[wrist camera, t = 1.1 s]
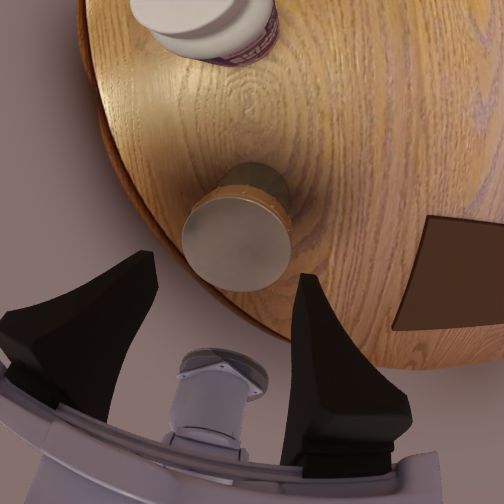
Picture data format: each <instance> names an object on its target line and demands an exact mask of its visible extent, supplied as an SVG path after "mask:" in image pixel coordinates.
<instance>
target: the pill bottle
mask: <svg viewBox="0 0 504 504" xmlns="http://www.w3.org/2000/svg"><path fill="white" fill-rule="evenodd" d="M130 6H131V10H132V13H133V15H134V17H135V18H136V19H137V20H138V22H139V23H141V24H142V25H143V26H144V27H146V28H148V29H150V31H151V33H152V35H153V37H154V38H155V39H156V41H157V42H158V43H159V44H160V45H162V46H163V47H164V48H166V49H167V50H169V51H170V52H172V53H174V54H177V55H178V56H181V57H184V58H190V59H195V60H199V61H204V62H207V63H211V64H215V65H219V66H225V67H241V66H245V65H249V64H252V63H254V62H256V61H258V60H260V59H261V58H263V57H264V56H265V55H266V54H267V53H268V52H269V51H270V50H271V49H272V48H273V46H274V45H275V43H276V41H277V38H278V34H279V20H278V15H277V11H276V7H275V1H274V0H130Z"/></svg>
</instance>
